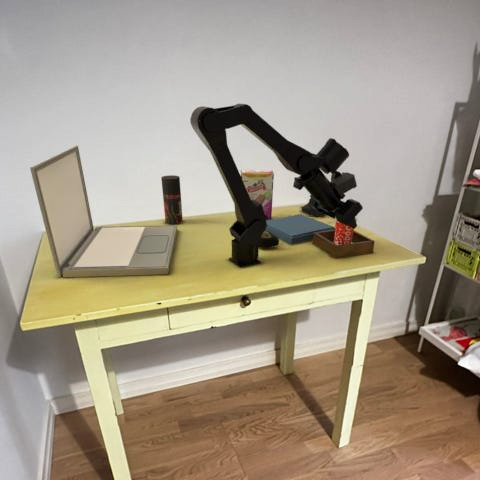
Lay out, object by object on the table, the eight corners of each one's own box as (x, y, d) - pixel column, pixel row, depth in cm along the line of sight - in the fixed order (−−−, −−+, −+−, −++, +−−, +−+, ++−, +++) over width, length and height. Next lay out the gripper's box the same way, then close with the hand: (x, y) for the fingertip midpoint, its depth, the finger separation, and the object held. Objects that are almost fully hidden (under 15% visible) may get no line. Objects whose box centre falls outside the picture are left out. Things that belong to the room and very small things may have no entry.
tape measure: (279, 249, 117) (280, 236, 115) (257, 251, 115) (257, 239, 113) (270, 241, 123) (271, 229, 121) (249, 243, 121) (249, 231, 119)
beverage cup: (333, 251, 115) (340, 202, 108) (329, 244, 120) (334, 197, 113) (355, 251, 115) (362, 202, 108) (349, 244, 121) (356, 197, 113)
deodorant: (181, 224, 137) (178, 179, 129) (164, 224, 137) (159, 179, 129) (183, 219, 142) (180, 175, 134) (167, 219, 142) (163, 175, 134)
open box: (334, 258, 111) (336, 246, 109) (312, 243, 121) (313, 232, 119) (372, 252, 115) (375, 241, 113) (348, 238, 125) (349, 227, 123)
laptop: (168, 274, 101) (157, 165, 88) (56, 277, 100) (28, 167, 86) (177, 230, 131) (170, 144, 118) (91, 232, 130) (74, 145, 116)
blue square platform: (291, 244, 120) (291, 236, 119) (257, 228, 133) (258, 221, 132) (335, 234, 128) (336, 226, 127) (300, 220, 142) (300, 213, 140)
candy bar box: (240, 221, 140) (240, 172, 132) (239, 217, 144) (239, 169, 136) (272, 221, 140) (274, 172, 132) (270, 217, 145) (272, 169, 136)
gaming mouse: (308, 206, 157) (309, 196, 155) (329, 216, 146) (330, 205, 144) (294, 208, 155) (294, 197, 153) (314, 218, 144) (315, 207, 141)
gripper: (362, 169, 97) (390, 210, 106) (322, 157, 112) (350, 194, 121) (330, 205, 99) (360, 242, 108) (295, 188, 114) (324, 223, 123)
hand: (349, 224), depth 115 cm, fingers closed on beverage cup, 6 cm apart
